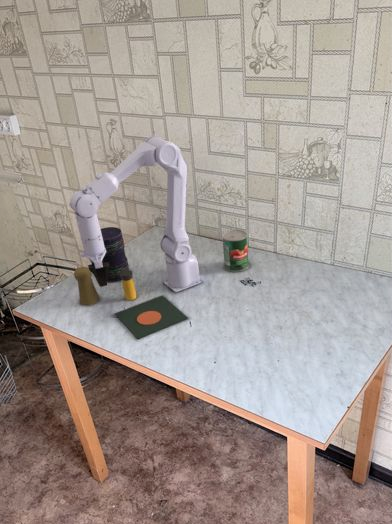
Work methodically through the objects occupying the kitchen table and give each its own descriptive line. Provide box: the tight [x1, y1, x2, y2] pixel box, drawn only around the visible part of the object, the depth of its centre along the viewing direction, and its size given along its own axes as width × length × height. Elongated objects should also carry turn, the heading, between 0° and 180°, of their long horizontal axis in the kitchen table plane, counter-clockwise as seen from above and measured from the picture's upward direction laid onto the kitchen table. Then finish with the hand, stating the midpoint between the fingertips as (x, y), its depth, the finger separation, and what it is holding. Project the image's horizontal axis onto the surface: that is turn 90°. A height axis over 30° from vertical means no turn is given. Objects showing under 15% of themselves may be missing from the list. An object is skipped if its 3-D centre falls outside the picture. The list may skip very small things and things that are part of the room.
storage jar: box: [100, 226, 130, 283], centre depth 166 cm, size 10×10×15 cm
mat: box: [114, 294, 189, 340], centre depth 147 cm, size 16×16×1 cm
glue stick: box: [120, 269, 137, 301], centre depth 155 cm, size 4×4×8 cm
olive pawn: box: [73, 266, 100, 306], centre depth 155 cm, size 6×6×11 cm
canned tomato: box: [221, 229, 250, 273], centre depth 163 cm, size 8×8×11 cm
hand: (101, 279), depth 147 cm, fingers open, 7 cm apart
